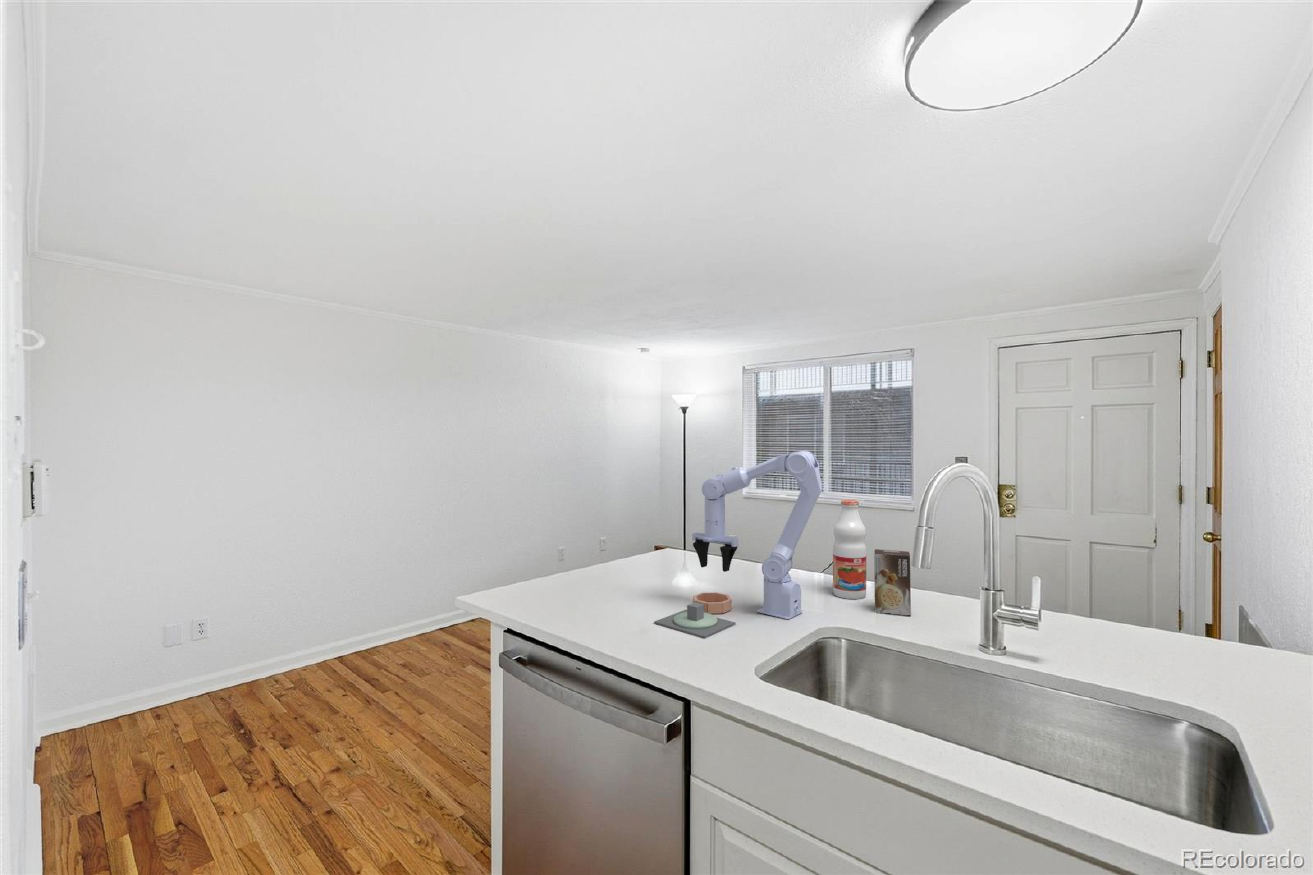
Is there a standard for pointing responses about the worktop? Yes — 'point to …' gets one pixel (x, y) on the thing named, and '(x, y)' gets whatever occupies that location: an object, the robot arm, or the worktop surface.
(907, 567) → the coffee box
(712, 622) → the lid
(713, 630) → the mat
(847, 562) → the fruit juice
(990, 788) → the worktop surface
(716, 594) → the bowl
